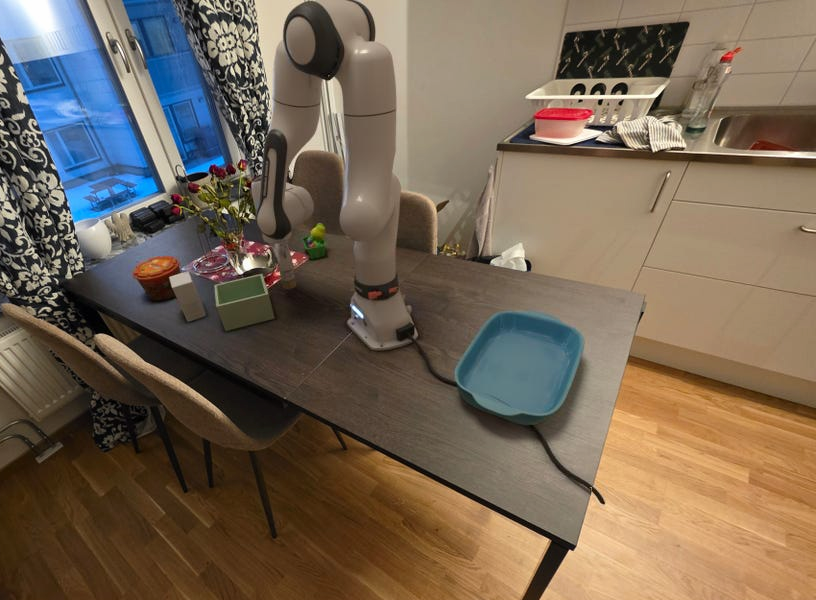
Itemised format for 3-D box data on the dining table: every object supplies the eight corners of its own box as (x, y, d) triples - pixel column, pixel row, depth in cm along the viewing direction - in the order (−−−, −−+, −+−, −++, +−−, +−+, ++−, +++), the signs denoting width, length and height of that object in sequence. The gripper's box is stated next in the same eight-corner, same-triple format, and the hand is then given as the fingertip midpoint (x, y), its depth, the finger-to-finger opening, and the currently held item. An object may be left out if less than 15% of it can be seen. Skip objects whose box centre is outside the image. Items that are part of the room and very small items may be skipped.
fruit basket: (303, 249, 156) (298, 222, 149) (324, 245, 157) (321, 217, 150) (308, 261, 148) (303, 233, 140) (331, 256, 149) (327, 228, 141)
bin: (274, 318, 121) (268, 293, 115) (225, 331, 119) (216, 306, 113) (268, 297, 131) (262, 273, 125) (222, 308, 129) (214, 285, 123)
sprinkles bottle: (291, 281, 132) (282, 244, 123) (299, 285, 129) (290, 247, 120) (280, 287, 130) (270, 249, 121) (287, 291, 127) (278, 253, 118)
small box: (183, 310, 131) (168, 276, 122) (202, 304, 132) (188, 270, 124) (187, 322, 125) (171, 287, 116) (206, 316, 126) (192, 281, 118)
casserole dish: (545, 454, 75) (554, 431, 71) (437, 410, 86) (439, 388, 82) (584, 346, 96) (594, 323, 92) (494, 322, 107) (498, 301, 103)
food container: (135, 303, 138) (121, 276, 131) (160, 280, 150) (148, 254, 142) (174, 304, 134) (161, 277, 127) (196, 281, 146) (186, 254, 139)
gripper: (293, 241, 110) (302, 284, 119) (281, 218, 125) (289, 257, 134) (271, 247, 109) (282, 289, 118) (262, 222, 124) (272, 262, 133)
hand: (286, 272), depth 126 cm, fingers closed on sprinkles bottle, 4 cm apart
